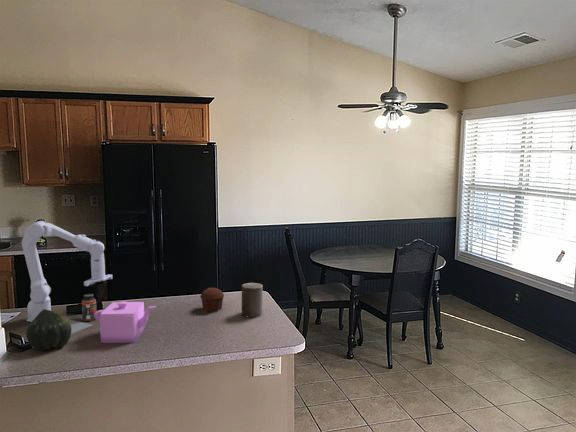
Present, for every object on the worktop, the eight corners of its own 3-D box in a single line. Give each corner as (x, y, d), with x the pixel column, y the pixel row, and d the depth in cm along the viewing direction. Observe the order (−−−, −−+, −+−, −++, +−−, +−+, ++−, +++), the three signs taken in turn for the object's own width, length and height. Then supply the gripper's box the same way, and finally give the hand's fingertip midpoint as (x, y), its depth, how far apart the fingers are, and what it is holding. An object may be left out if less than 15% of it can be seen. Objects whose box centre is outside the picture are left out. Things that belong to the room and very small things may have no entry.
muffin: (205, 304, 223) (204, 284, 222) (226, 305, 222) (226, 285, 221) (197, 312, 212) (196, 291, 211) (219, 313, 210) (219, 292, 209)
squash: (65, 340, 164) (67, 302, 172) (19, 346, 160) (23, 307, 168) (73, 353, 176) (74, 317, 184) (30, 359, 171) (33, 322, 180)
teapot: (153, 342, 177) (152, 307, 175) (88, 343, 175) (86, 308, 174) (161, 328, 192) (160, 296, 190) (102, 329, 190) (100, 297, 189)
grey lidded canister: (243, 318, 204) (243, 286, 202) (240, 311, 213) (240, 280, 211) (264, 316, 206) (264, 285, 204) (260, 310, 215) (260, 279, 214)
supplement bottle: (91, 322, 199) (90, 297, 197) (79, 321, 200) (78, 296, 198) (99, 317, 204) (98, 293, 203) (88, 316, 206) (86, 292, 204)
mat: (36, 331, 188) (36, 330, 188) (67, 320, 201) (67, 319, 201) (62, 337, 181) (62, 336, 181) (93, 325, 194) (93, 324, 194)
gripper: (91, 273, 197) (92, 303, 198) (116, 266, 210) (118, 294, 211) (79, 271, 200) (81, 301, 201) (105, 264, 213) (107, 292, 214)
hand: (99, 297), depth 206 cm, fingers closed
